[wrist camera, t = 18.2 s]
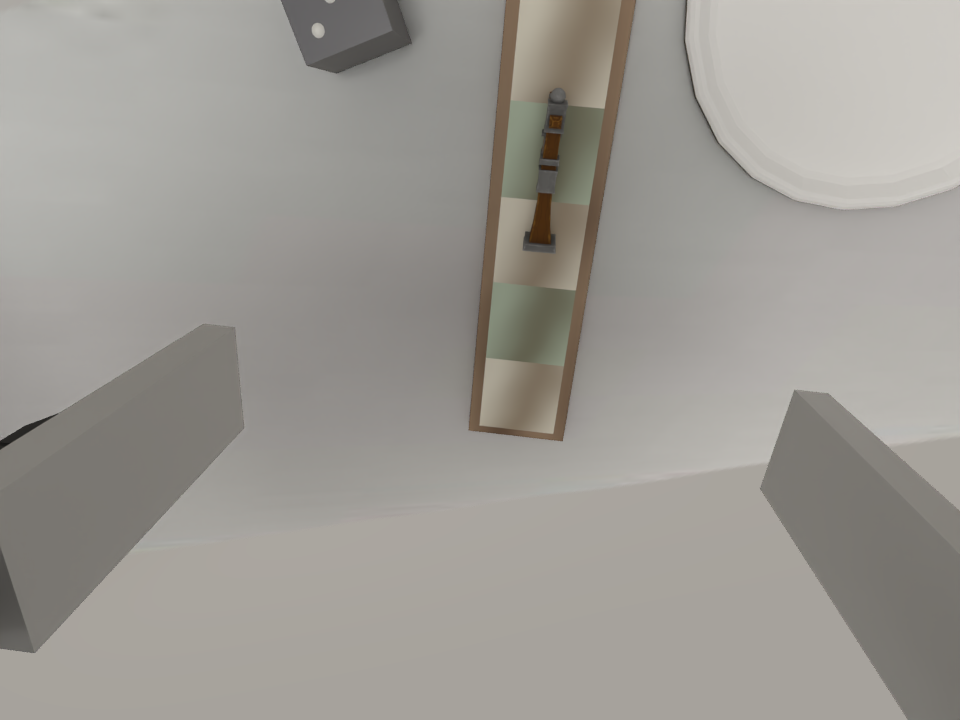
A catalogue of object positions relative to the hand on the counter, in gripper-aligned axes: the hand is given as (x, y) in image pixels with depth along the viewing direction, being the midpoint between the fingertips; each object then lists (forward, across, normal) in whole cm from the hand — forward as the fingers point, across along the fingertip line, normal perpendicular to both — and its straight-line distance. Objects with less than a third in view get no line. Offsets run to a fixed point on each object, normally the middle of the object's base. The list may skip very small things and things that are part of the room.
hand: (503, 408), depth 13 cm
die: (+22, -10, +11) cm, 26 cm away
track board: (+22, +1, 0) cm, 22 cm away
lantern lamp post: (+20, +1, 0) cm, 20 cm away
